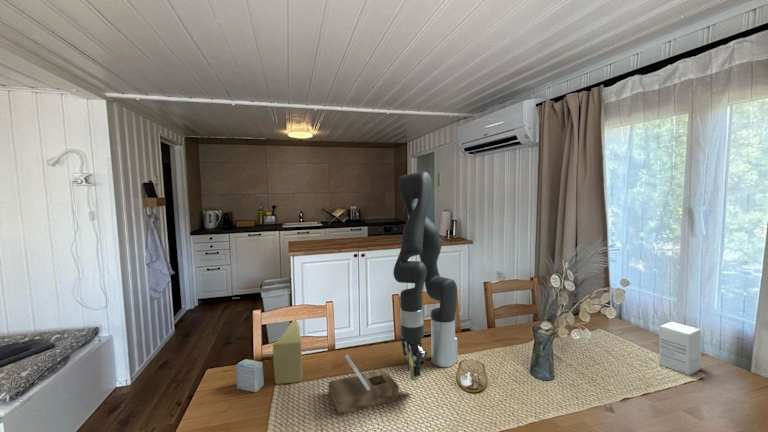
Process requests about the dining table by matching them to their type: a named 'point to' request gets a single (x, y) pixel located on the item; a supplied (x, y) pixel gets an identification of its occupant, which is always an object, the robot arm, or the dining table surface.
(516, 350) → the dining table surface
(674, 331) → the supplement box
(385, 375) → the walnut block
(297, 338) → the cheese
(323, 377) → the dining table surface
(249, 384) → the medicine box
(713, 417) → the dining table surface
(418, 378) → the brass peg
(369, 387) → the steel flap
